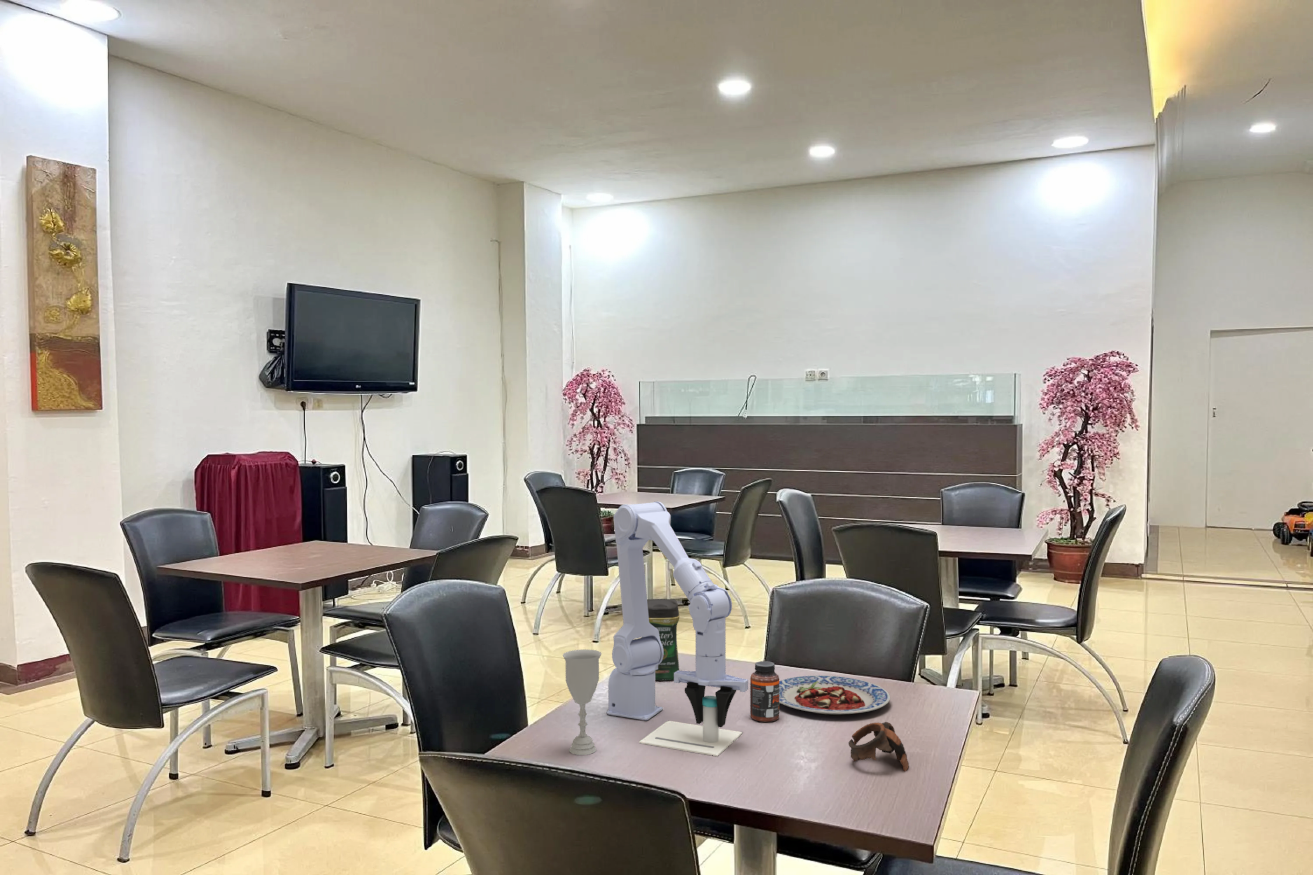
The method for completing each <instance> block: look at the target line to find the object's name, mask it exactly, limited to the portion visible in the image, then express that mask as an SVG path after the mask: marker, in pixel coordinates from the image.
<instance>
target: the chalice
mask: <svg viewBox="0 0 1313 875" xmlns="http://www.w3.org/2000/svg"><path fill="white" fill-rule="evenodd" d="M562 656H563V659H564V661H565V682H566V686H567V689H568V691H569V693H570V695H571V697H572V700H573V701H574V703H576V704H578V705H579V712H578V714H577V715H578V716H579V722H578V724H577V726H578V727H579V734H578V735H577V736H576V737H574V738H573V739H572V743H571V745H570V748H569V753H571V754H573V755H577V756H586V755H587V756H588V755H591V754H594V753H595V752H597V748H596V746H595V743H594V739H593V738H592V737H591V736H589V735H588V733H586V728H587V725H588V722H587V721H586V717H587V715H588V713H587V711H586V704H589V703H590V702H591V700H592V698H593V697H594V694H595V692H596V690H597V686H598V684H599V681H600V658H601V656H602V651H599V650H597V649H596V650H594V649H586V648H585V649H574V650H569V651H565V652H564V653H562Z"/></svg>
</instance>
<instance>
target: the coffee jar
mask: <svg viewBox="0 0 1313 875" xmlns="http://www.w3.org/2000/svg"><path fill="white" fill-rule="evenodd" d="M647 604H648V616H649V623H650V624H651V625H652V626H654V627H655V628H656V629H658V631H659V637H660V641H661V643H662V646H663V650H664V655H663V659H662V661H661V663H660V664H658V669H657V670H655V680H660V681H674V673H675V672H676V671H678V670H679V671H680V664H679V662H680V661H679V660H680V659H679V652H678V640H677V638H678V636H677V635H678V634H677V628H678V623H679V621H680V611H679V610H680V609H679V605H678V601H677V599H674V598H649V599H648V598H647ZM641 638H643V637H641Z"/></svg>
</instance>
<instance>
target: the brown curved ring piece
mask: <svg viewBox="0 0 1313 875" xmlns="http://www.w3.org/2000/svg"><path fill="white" fill-rule="evenodd" d="M872 733H873V736H874V738H872V739H871V740H869V741H868V742H865V743H862V744H857V743H859V741H861V739H863V738H865V737H866V736H868V735H870V734H872ZM851 737H852V738H851V739H850V740H849V741H848V746H849V748H851V749H850V759H852V760H853V761H854V762H856V761H863V760H864V761H865V760H867V759H871V760H873V761H877V758H876V757H877V756H876V755H877V754H876V753H877V752H876V751H877V749H878V750H879V751H881V753H887V754H892V753H893V752H894V753H895V757H896V760H897V761H899V762H900V764H901V765H902V770H903V771H904V772H907V770H908V768H909V764H910V763H909V760H908V755H907V753H906V752H907V751H906V750H905V749H906V748H905V747H904V743H902V740H901V739H900V738H899V736H898V735H897V734H896V731H895V728H894V725H893V724H891V723H890V722H888V721H885V722H882V723H881V722H872V723H867V724H866V725H864V726H861V727H860V728H858V729H857V730H856V731H855V732H854V733H853V734H852V735H851Z"/></svg>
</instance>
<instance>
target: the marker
mask: <svg viewBox="0 0 1313 875" xmlns="http://www.w3.org/2000/svg"><path fill="white" fill-rule="evenodd" d="M702 705H703V722H702V726H703V741H704V742H708V743H714V742H718V741H719V729H720V727H718V708H717V700H716V695H704V697H703V698H702Z"/></svg>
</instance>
